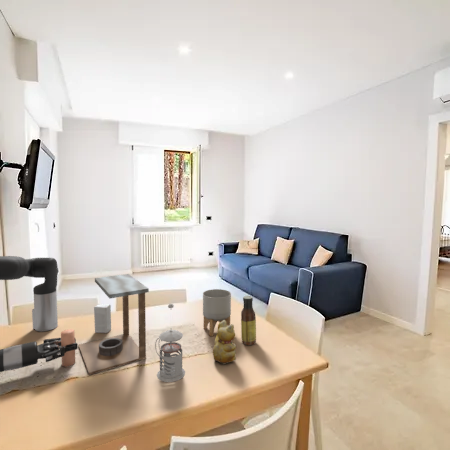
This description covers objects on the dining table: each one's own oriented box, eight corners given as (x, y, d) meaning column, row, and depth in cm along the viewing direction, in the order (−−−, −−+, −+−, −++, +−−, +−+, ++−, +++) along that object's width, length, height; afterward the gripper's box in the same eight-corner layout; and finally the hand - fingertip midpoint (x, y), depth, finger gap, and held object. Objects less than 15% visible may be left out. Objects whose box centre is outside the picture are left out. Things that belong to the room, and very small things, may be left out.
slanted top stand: (89, 376, 102) (87, 298, 99) (78, 345, 123) (76, 280, 121) (149, 358, 113) (148, 288, 111) (129, 333, 135) (128, 274, 133)
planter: (197, 333, 135) (198, 295, 134) (209, 323, 147) (210, 287, 146) (224, 339, 130) (224, 299, 129) (234, 327, 142) (234, 291, 141)
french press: (172, 385, 97) (171, 311, 95) (147, 374, 103) (146, 304, 101) (191, 371, 105) (191, 302, 103) (166, 361, 111) (166, 296, 109)
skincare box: (111, 329, 139) (111, 304, 138) (107, 333, 135) (106, 307, 134) (99, 328, 139) (98, 303, 138) (94, 332, 135) (93, 306, 134)
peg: (59, 366, 108) (58, 334, 107) (66, 359, 112) (65, 328, 111) (70, 367, 107) (69, 334, 106) (77, 360, 111) (76, 329, 111)
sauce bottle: (257, 340, 129) (258, 295, 127) (254, 347, 123) (254, 300, 122) (242, 338, 131) (243, 294, 130) (238, 344, 125) (239, 298, 124)
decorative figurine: (240, 361, 112) (240, 323, 111) (224, 370, 106) (225, 329, 105) (222, 352, 119) (222, 315, 117) (206, 360, 113) (206, 321, 111)
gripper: (20, 354, 95) (79, 340, 104) (20, 337, 107) (73, 326, 116) (21, 376, 95) (79, 361, 105) (21, 357, 107) (74, 344, 117)
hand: (76, 343), depth 111 cm, fingers closed on peg, 4 cm apart
